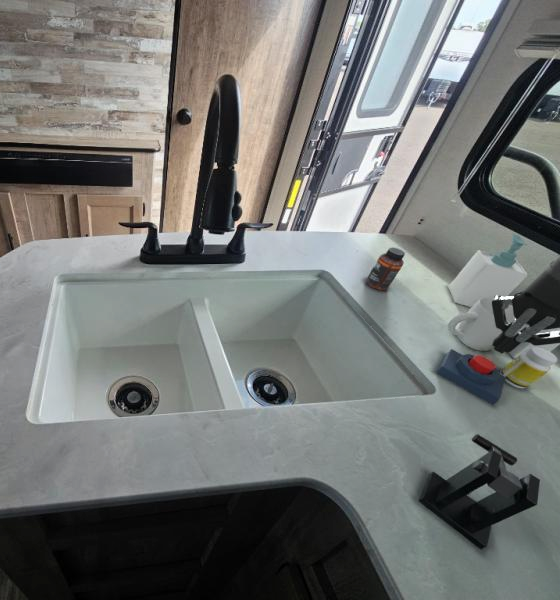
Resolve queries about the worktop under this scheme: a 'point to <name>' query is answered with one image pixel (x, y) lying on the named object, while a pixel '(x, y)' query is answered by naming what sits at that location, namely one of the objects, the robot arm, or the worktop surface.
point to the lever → (501, 469)
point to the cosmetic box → (527, 346)
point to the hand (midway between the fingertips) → (498, 349)
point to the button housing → (471, 376)
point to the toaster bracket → (468, 513)
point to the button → (482, 364)
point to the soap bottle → (489, 275)
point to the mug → (479, 325)
